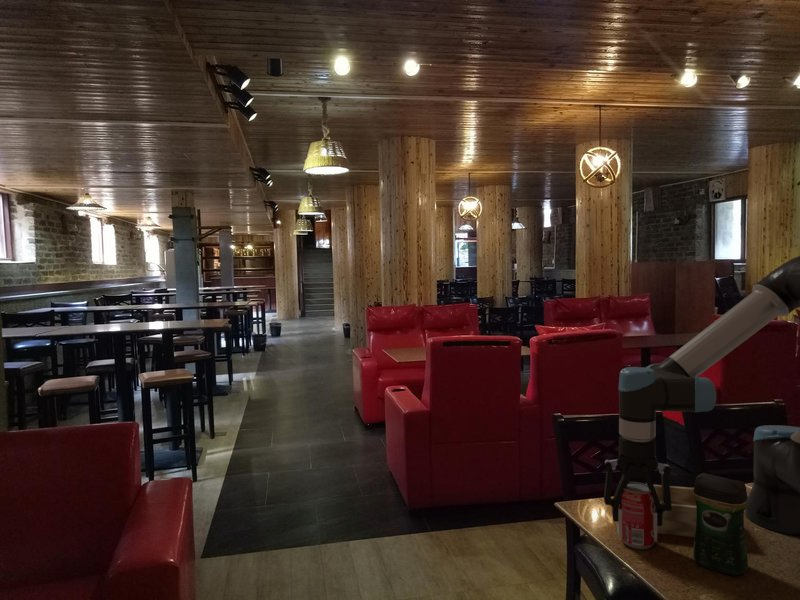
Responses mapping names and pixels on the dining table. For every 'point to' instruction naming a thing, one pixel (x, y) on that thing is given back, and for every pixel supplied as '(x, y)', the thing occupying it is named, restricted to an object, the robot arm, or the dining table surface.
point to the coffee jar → (720, 524)
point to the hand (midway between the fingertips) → (636, 536)
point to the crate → (678, 512)
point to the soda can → (637, 516)
